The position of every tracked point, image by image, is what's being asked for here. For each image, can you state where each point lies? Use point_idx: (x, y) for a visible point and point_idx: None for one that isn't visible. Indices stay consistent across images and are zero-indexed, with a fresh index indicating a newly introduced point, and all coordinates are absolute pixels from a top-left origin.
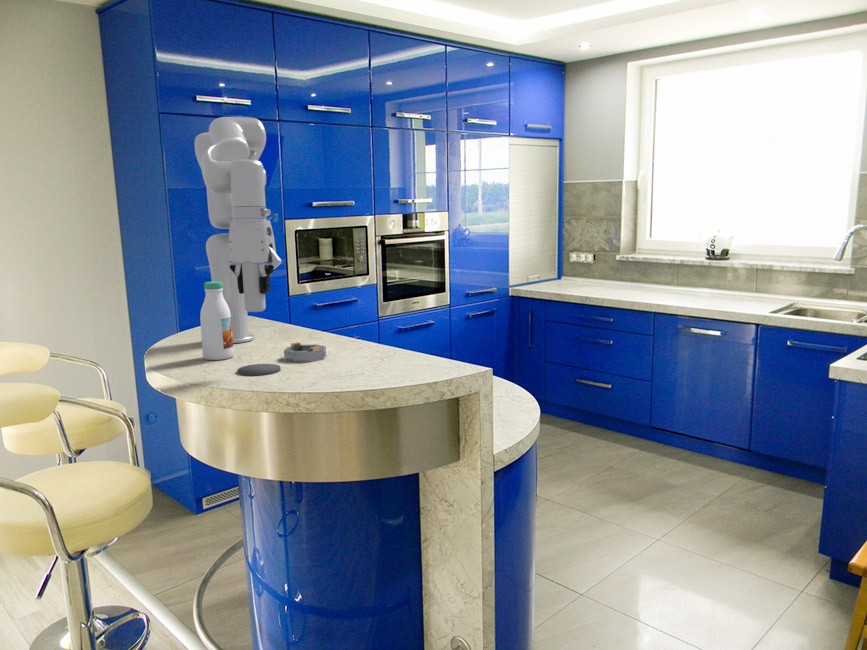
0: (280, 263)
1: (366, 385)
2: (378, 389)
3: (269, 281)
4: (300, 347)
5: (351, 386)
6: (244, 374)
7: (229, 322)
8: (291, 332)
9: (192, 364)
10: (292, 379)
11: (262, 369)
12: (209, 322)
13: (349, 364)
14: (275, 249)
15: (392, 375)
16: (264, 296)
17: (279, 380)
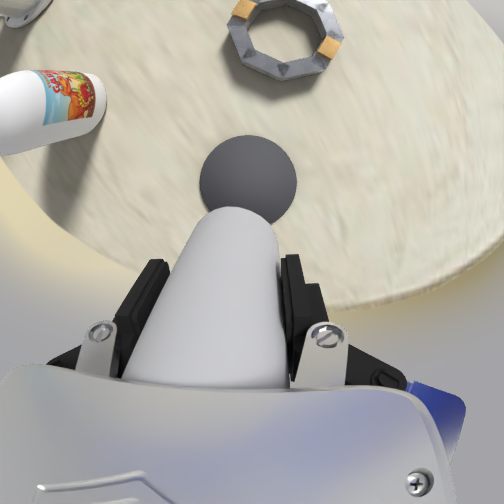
0: (450, 400)
1: (466, 243)
2: (478, 259)
3: (325, 311)
4: (256, 8)
5: (450, 253)
6: None
7: (55, 94)
8: None
9: (78, 173)
10: (354, 232)
11: (262, 191)
12: (32, 147)
13: (415, 93)
14: (455, 501)
15: (491, 179)
16: (278, 264)
17: (332, 244)
